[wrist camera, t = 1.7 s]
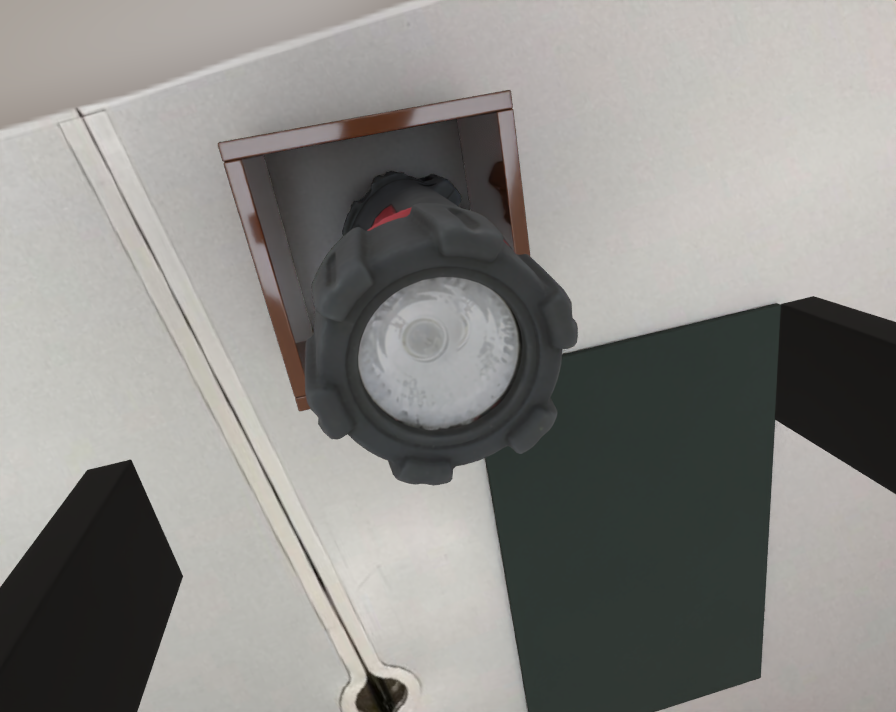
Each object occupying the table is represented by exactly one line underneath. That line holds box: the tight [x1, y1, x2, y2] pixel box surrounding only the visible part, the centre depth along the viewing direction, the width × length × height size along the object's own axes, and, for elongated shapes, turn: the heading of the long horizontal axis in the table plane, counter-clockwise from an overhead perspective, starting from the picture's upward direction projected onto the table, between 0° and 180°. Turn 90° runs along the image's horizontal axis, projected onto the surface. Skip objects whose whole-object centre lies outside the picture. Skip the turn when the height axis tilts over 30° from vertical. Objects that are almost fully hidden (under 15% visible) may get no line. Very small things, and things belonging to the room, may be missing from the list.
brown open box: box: [218, 90, 530, 411], centre depth 32 cm, size 13×13×9 cm
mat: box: [485, 304, 781, 712], centre depth 49 cm, size 24×40×1 cm, turn 10°
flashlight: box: [305, 171, 578, 485], centre depth 25 cm, size 8×8×23 cm
